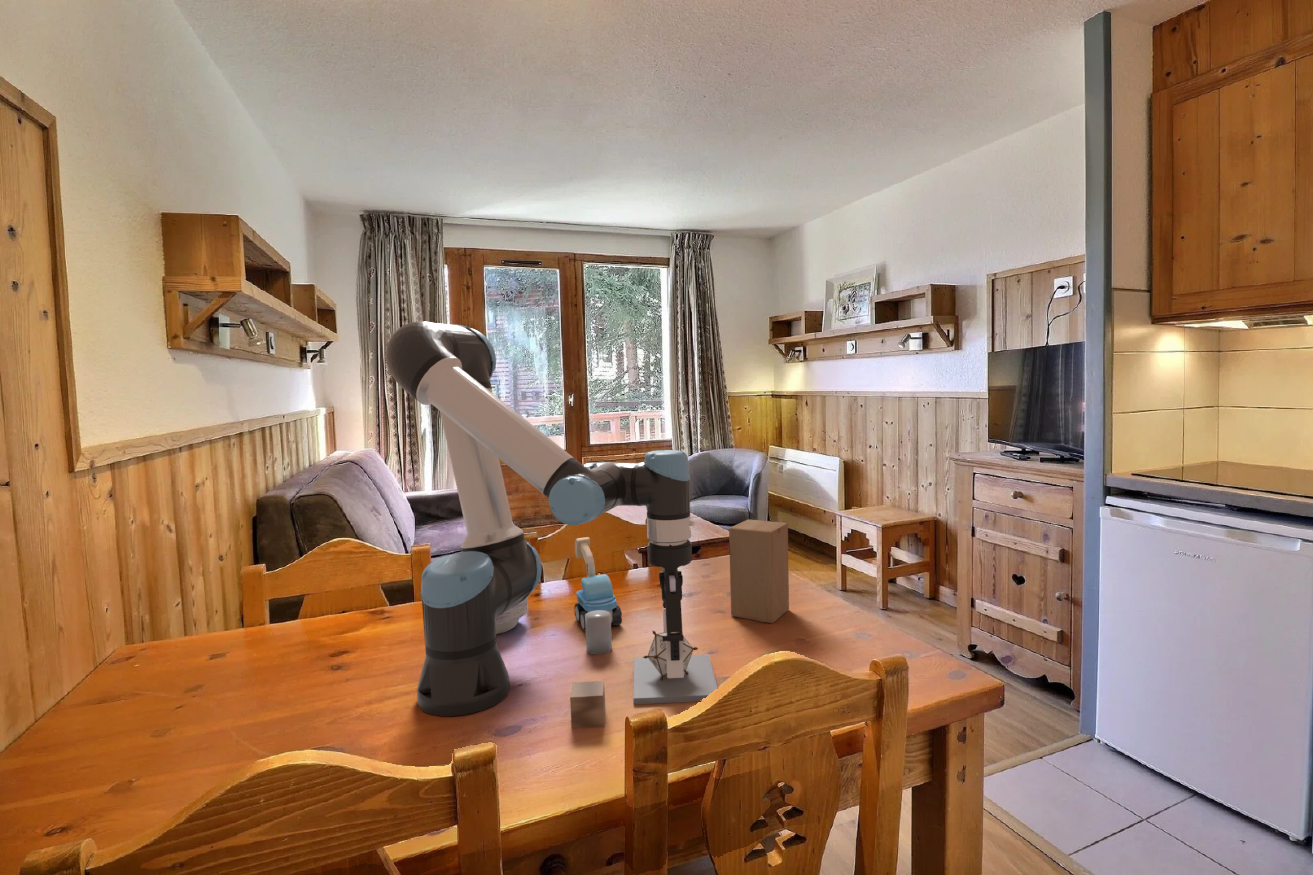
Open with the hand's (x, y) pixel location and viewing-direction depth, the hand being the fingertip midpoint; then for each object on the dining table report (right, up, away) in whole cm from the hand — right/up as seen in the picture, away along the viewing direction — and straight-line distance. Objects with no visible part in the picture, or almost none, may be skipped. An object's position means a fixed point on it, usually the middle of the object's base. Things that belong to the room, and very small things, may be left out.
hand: (673, 659), depth 115 cm
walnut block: (-14, -5, -12) cm, 19 cm away
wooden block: (+20, -1, +32) cm, 38 cm away
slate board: (0, -4, 0) cm, 4 cm away
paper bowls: (-39, -3, +28) cm, 48 cm away
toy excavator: (-17, -2, +32) cm, 36 cm away
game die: (0, -3, 0) cm, 3 cm away
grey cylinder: (-14, -3, +15) cm, 21 cm away
